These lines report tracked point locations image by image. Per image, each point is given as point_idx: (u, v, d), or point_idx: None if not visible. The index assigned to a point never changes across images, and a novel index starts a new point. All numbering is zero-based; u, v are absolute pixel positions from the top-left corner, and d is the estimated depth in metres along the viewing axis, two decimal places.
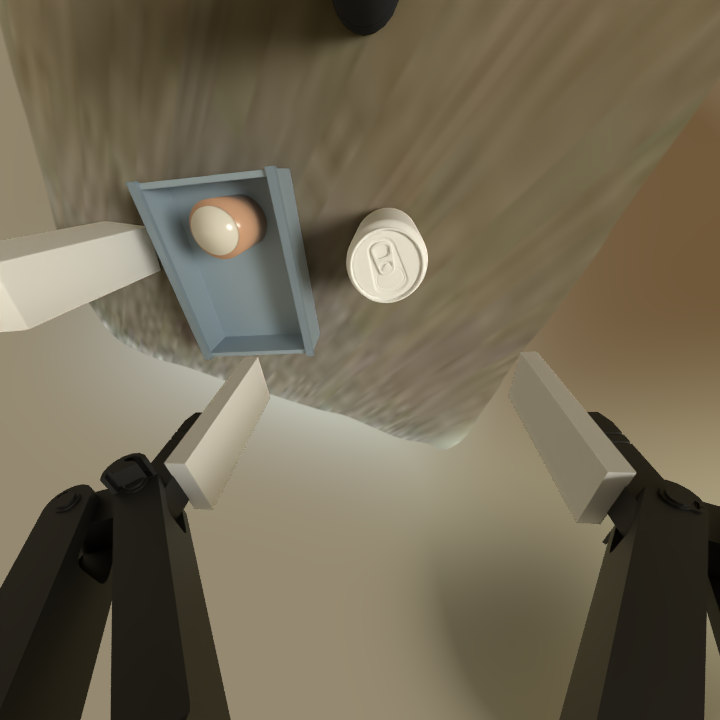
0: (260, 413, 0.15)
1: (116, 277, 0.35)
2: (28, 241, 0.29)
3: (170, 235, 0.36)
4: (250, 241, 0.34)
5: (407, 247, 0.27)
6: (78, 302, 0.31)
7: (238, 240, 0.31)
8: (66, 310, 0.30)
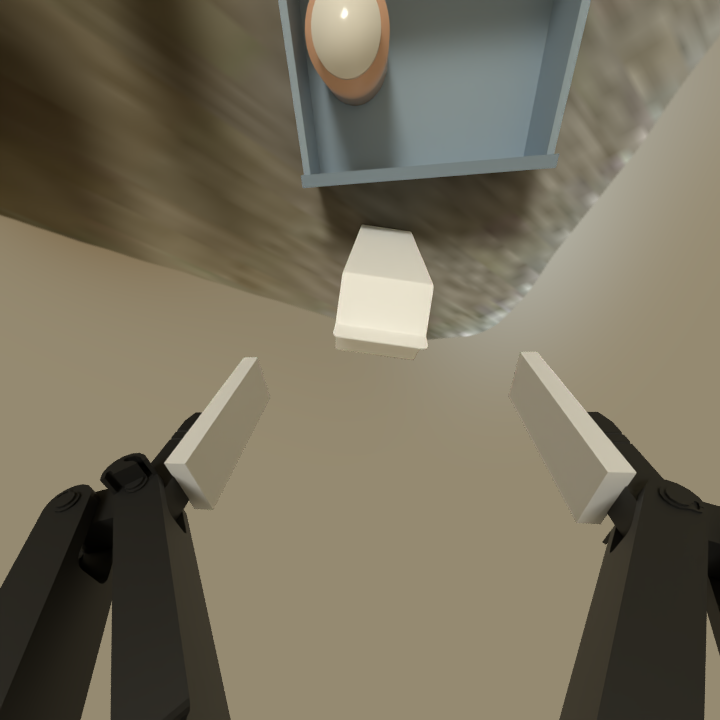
0: (260, 413, 0.15)
1: (403, 244, 0.28)
2: None
3: None
4: None
5: None
6: (418, 261, 0.23)
7: None
8: (423, 267, 0.22)
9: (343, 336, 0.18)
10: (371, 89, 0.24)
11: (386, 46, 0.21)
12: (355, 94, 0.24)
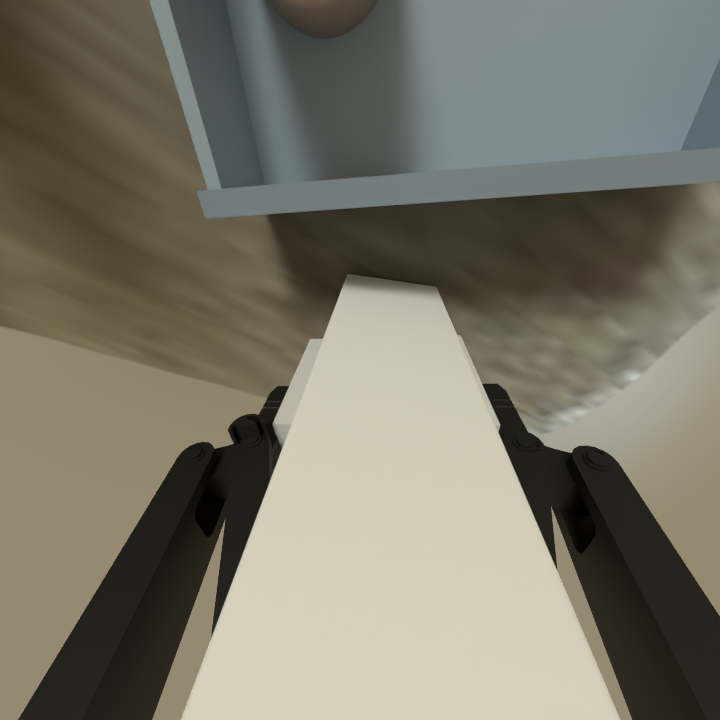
0: None
1: (430, 342, 0.13)
2: None
3: None
4: None
5: None
6: (490, 449, 0.08)
7: None
8: (521, 503, 0.07)
9: None
10: None
11: None
12: None
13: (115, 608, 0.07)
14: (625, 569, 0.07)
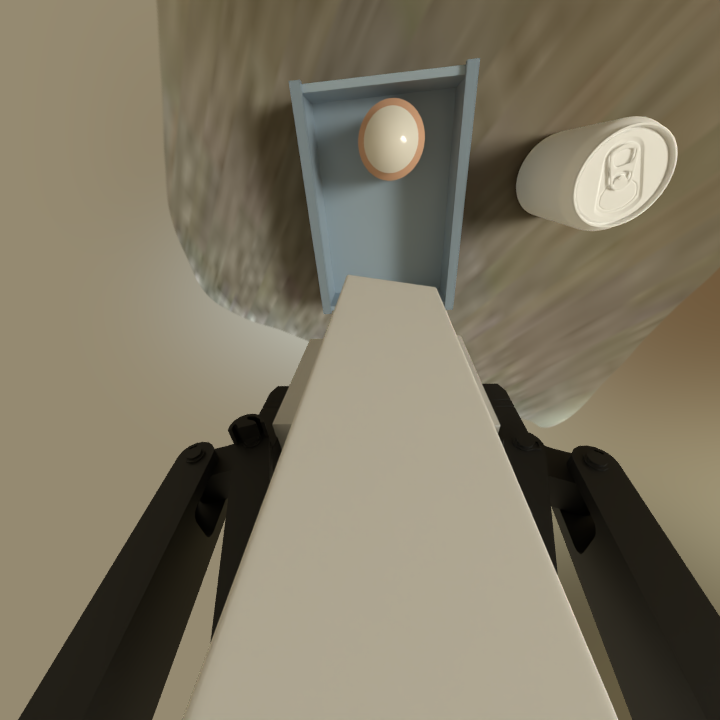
0: None
1: (430, 343, 0.13)
2: None
3: (313, 159, 0.31)
4: None
5: (658, 151, 0.22)
6: (490, 450, 0.08)
7: (416, 149, 0.26)
8: (520, 505, 0.07)
9: None
10: None
11: (386, 179, 0.28)
12: None
13: (114, 609, 0.07)
14: (625, 569, 0.07)
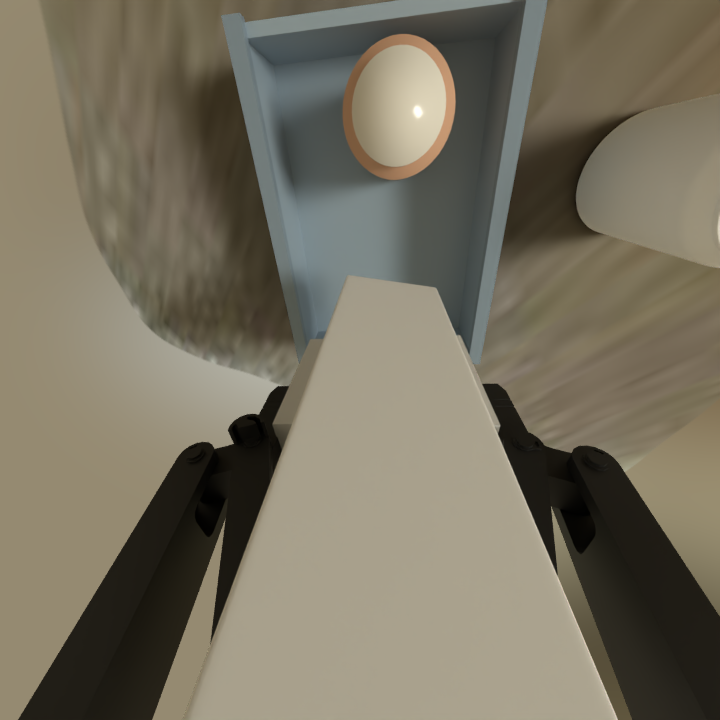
0: None
1: (430, 343, 0.13)
2: None
3: (275, 150, 0.20)
4: None
5: None
6: (490, 450, 0.08)
7: (442, 121, 0.15)
8: (521, 505, 0.07)
9: None
10: None
11: (393, 177, 0.17)
12: None
13: (115, 609, 0.07)
14: (625, 569, 0.07)
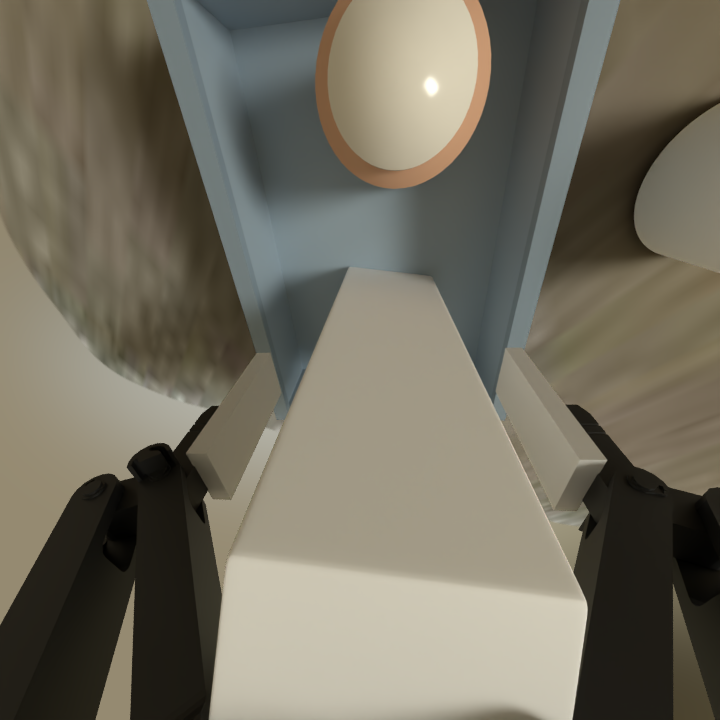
0: (272, 408, 0.15)
1: (424, 317, 0.14)
2: None
3: (233, 147, 0.15)
4: None
5: None
6: (474, 391, 0.09)
7: (471, 91, 0.10)
8: (497, 427, 0.08)
9: None
10: None
11: (400, 185, 0.12)
12: None
13: (10, 670, 0.06)
14: None
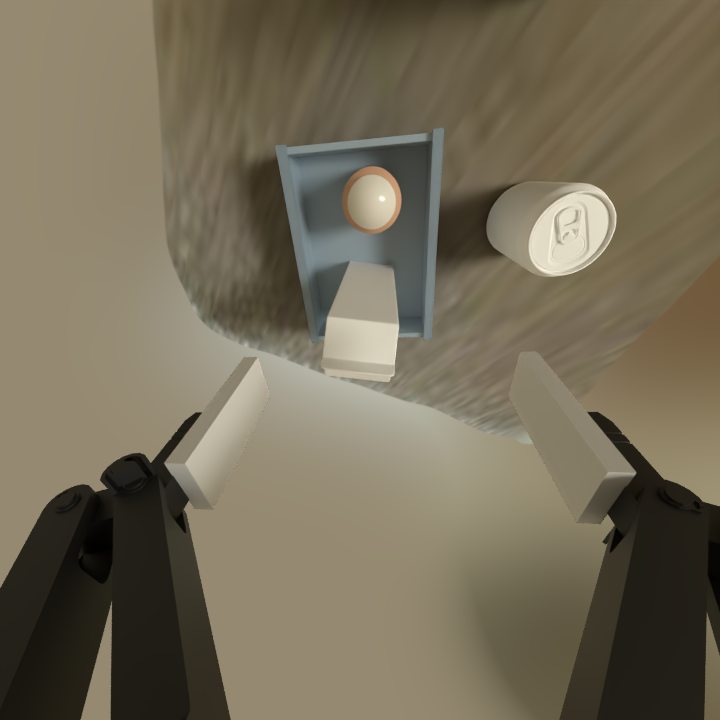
0: (260, 413, 0.15)
1: (382, 281, 0.33)
2: None
3: (299, 207, 0.34)
4: None
5: (599, 213, 0.25)
6: (391, 300, 0.28)
7: (395, 201, 0.29)
8: (394, 306, 0.27)
9: (328, 368, 0.23)
10: None
11: (377, 232, 0.31)
12: None
13: None
14: None
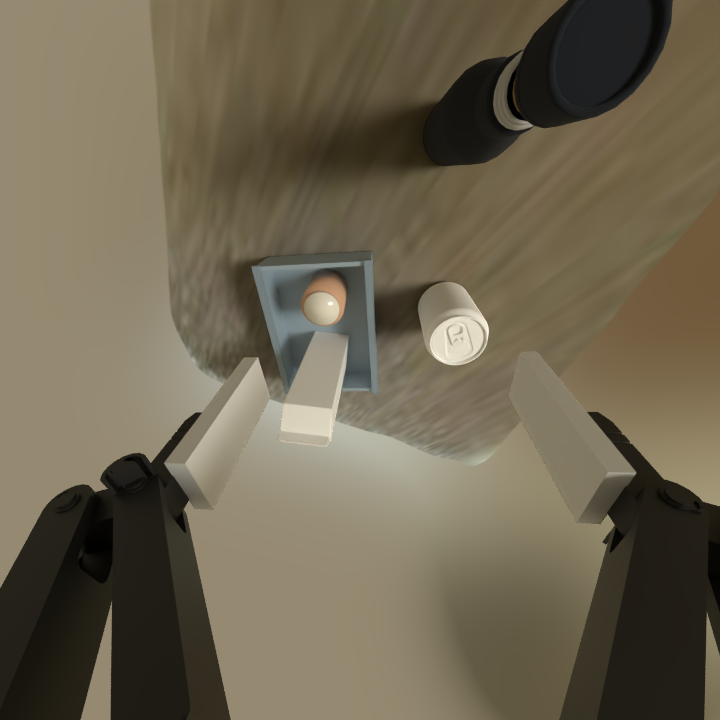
0: (260, 413, 0.15)
1: (334, 358, 0.44)
2: None
3: (272, 299, 0.45)
4: (344, 300, 0.41)
5: (476, 328, 0.36)
6: (334, 381, 0.39)
7: (338, 305, 0.40)
8: (335, 388, 0.38)
9: (282, 440, 0.34)
10: None
11: (330, 324, 0.42)
12: None
13: None
14: None
